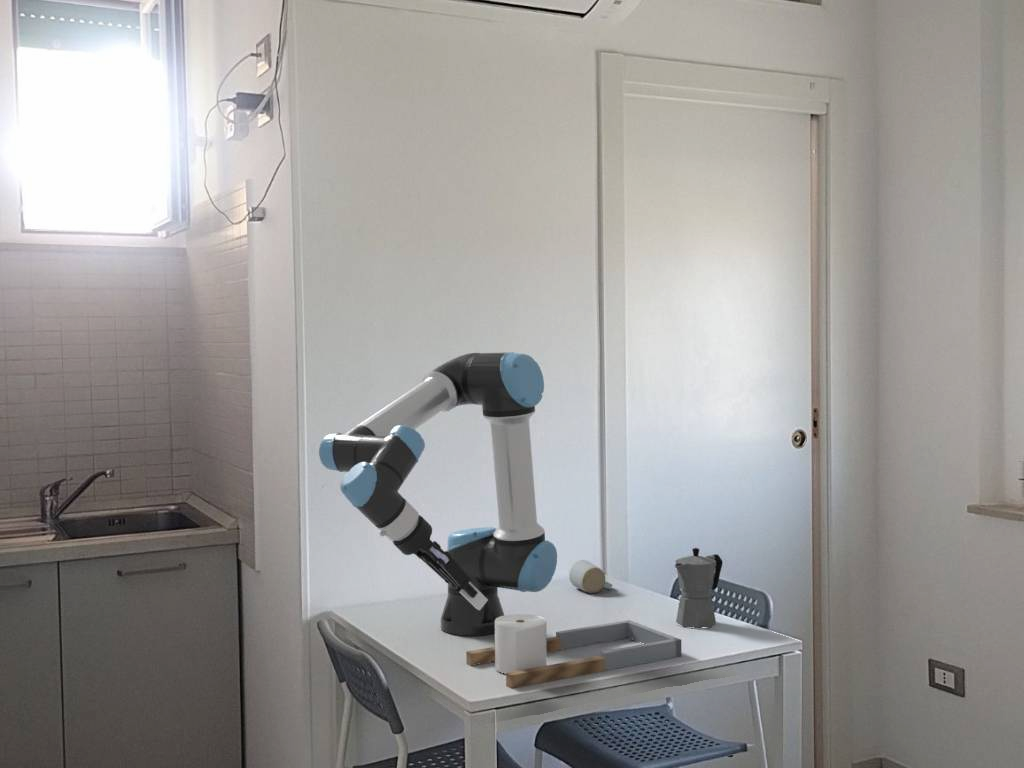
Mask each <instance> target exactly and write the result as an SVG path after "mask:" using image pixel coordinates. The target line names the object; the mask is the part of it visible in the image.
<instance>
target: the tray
mask: <svg viewBox="0 0 1024 768" xmlns="http://www.w3.org/2000/svg"><path fill="white" fill-rule="evenodd" d="M555 637H558V638H560V639H561V650H564V649H570V648H577V647H581V646H582V645H583V646H587V645H588V644H589V645H594V644H599V643H598V642H600V643H604V641H606V642H610V640H612V641H615V639H618V640H621V638H623V639H629V638H630V640H632V639H633V640H632V641H634V640H636V641H635V642H637V641H638V642H637V643H639V642H641V643H640V644H637V645H630V646H624V647H619V648H614V649H610V650H608V649H607V650H601V651H600V656H601V657H603V658H605V671H609V670H614V669H620V668H625V667H631V666H634V665H635V666H636V665H642V664H645V663H651V662H657V661H663V660H667V659H672V658H673V659H674V658H678V657H679V658H680V657H682V639H681V638H677V637H675V636H674V635H673V636H672V635H670V634H668V633H665V632H662V631H659V630H656V629H654V628H651V627H649V626H646V625H643V624H640V623H638V622H636V621H633V620H629V619H628V620H626V619H625V620H621V621H614V622H608V623H604V624H597V625H591V626H585V627H577V628H573V629H566V630H560V631H555ZM627 637H628V638H627ZM642 643H644V644H642ZM583 646H582V647H583Z"/></svg>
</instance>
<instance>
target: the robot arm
mask: <svg viewBox="0 0 1024 768" xmlns="http://www.w3.org/2000/svg"><path fill="white" fill-rule="evenodd" d="M544 390H545V382H544V375H543V372H542V370H541V367H540V366H539V363H538V362H537V361H536V360H535V359H534V358H533V357H532V356H530V355H528V354H527V353H525V354H524V353H515V352H470V353H465V354H462V355H460V356H456V357H454V358H452V359H450V360H448V361H446V362H444V363H442V364H441V365H439V366H437V367H435V368H433V369H432V370H431V371H429V372H428V373H426V374H425V375H424V376H423V378H422V379H421V383H419V384H418V385H415V386H414V387H413V388H412V389H410V390H409V391H407V392H406V393H404V394H403V395H401V396H400V397H398V398H396V399H395V400H393V401H392V402H391V403H389V404H387V405H386V406H385V407H383V408H381V409H380V410H379V411H376V413H374V414H373V415H371V416H370V417H368V418H367V419H365V420H363V421H362V422H360V423H359V424H357V425H356V426H354V427H353V428H351V429H349V430H348V431H346V432H344V433H341V432H336V433H329V434H327V435H326V436H324V437H323V439H322V440H321V441H320V445H319V448H318V456H319V459H320V463H321V464H322V466H323V467H325V469H328V470H329V471H330V470H332V471H336V472H337V471H338V472H340V473H343V472H344V473H345V475H344V476H343V478H342V479H341V482H340V487H339V488H340V491H341V493H342V494H343V495H344V496H345V498H346V499H347V500H348V501H349V502H350V503H351V505H352V506H353V507H354V508H356V509H357V510H358V511H359V512H360V513H361V514H363V516H364V517H365V518H367V520H369V522H371V524H373V525H374V527H376V528H377V530H380V532H379V536H380V537H384V536H385V537H386V538H387V539H388V540H389V541H391V542H392V544H393V545H394V546H395V547H396V548H397V549H398V550H399V551H400V552H401V553H402V554H403V555H404V556H405V555H406V556H409V555H415V556H416V557H417V558H418V559H420V560H421V561H422V562H423V563H425V564H426V565H427V566H428V567H429V568H430V569H432V571H433V572H435V573H436V574H437V575H438V576H439V577H440V578H441V579H442V580H443V581H444V582H445V583H446V584H447V597H446V600H445V604H444V605H443V606H444V608H443V611H442V613H441V617H440V629H441V631H443V632H446V633H449V634H451V635H456V636H457V635H459V636H483V635H484V636H485V635H490V634H495V619H496V618H498V617H500V616H505V615H506V614H505V613H504V609H503V606H502V604H501V601H500V600H501V599H500V597H499V594H498V593H499V592H498V590H499V589H498V588H501V589H508V590H514V591H518V592H522V593H526V592H527V593H528V592H530V593H539V592H541V591H543V590H544V589H545V588H546V587H547V586H548V585H549V584H550V583H551V581H552V579H553V576H554V575H555V572H556V569H557V564H558V552H557V548H556V546H555V545H554V544H553V543H552V542H551V541H549V540H546V534H545V528H544V527H543V526H541V525H540V524H539V522H538V517H537V506H536V505H537V504H536V494H535V493H536V492H535V490H536V489H535V480H534V479H535V478H534V469H533V468H534V467H533V466H534V465H533V456H532V455H533V454H532V441H531V430H530V429H531V428H530V427H531V426H530V418H531V417H532V416H533V415H534V414H535V412H536V406H537V405H538V404H539V403H540V402H541V401H542V398H543V393H544ZM464 405H477V406H478V405H480V406H481V407H482V408H481V409H482V416H483V417H484V419H486V420H487V421H488V422H489V423H490V431H491V441H492V442H491V443H492V455H493V469H494V477H495V478H494V480H495V491H496V493H495V494H496V502H497V514H498V527H497V528H496V527H491V526H489V527H488V526H487V527H486V526H484V527H473V528H469V529H468V528H467V529H461V530H457V531H453V532H452V533H450V534H449V535H448V538H447V546H446V547H447V549H446V550H445V551H444V550H443V549H442V547H441V545H440V544H439V543H438V542H437V541H435V540H433V541H432V540H431V536H432V534H433V527H432V526H431V524H429V522H428V521H427V520H426V519H425V518H424V517H423V516H422V515H421V514H419V512H418V511H417V510H416V509H415V508H414V507H413V506H412V504H410V503H409V502H408V500H406V498H404V497H403V496H402V495H401V493H399V490H400V488H401V487H402V486H403V484H404V482H405V481H406V480H407V477H408V476H409V474H410V473H411V472H412V471H413V469H414V467H415V466H416V464H418V462H419V459H420V458H421V456H422V454H423V452H424V450H425V445H426V444H425V443H426V442H425V440H424V438H423V437H422V435H421V433H420V432H419V431H417V430H416V429H417V428H420V427H421V426H422V425H423V424H425V423H426V422H428V421H429V420H430V419H432V418H434V417H435V416H436V415H437V414H439V413H440V412H443V413H445V412H450V411H451V410H453V409H454V408H456V407H459V406H464Z"/></svg>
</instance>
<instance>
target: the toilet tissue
mask: <svg viewBox="0 0 1024 768" xmlns="http://www.w3.org/2000/svg"><path fill="white" fill-rule="evenodd" d="M504 615H505V616H500V617H498V618H496V619H495V633H494V647H495V662H494V668H495V670H496V671H497V672H498V673H500V672H501V674H503V673H504V675H506V673H508V672H513V671H519V670H524V669H530V668H535V667H541V666H547V665H548V663H547V662H548V659H547V653H548V652H547V647H546V645H547V643H546V642H547V640H546V639H547V638H548V637H547V636H548V635H547V619H546V618H545V617H543V616H540V615H537V614H529V613H513V614H504Z"/></svg>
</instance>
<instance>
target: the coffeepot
mask: <svg viewBox="0 0 1024 768" xmlns="http://www.w3.org/2000/svg"><path fill="white" fill-rule="evenodd" d="M691 551H692V554H693V555H689V556H684V557H683V556H681V557H679V558H678V559H676V560H675V564H674V567H675V568H676V573H677V579H678V586H679V589H681V595H680V596H679V600H678V601H679V603H678V608H677V615H676V620H675V622H677V623H678V624H680V625H682V626H686V627H694V628H702V627H710V628H712V627H711V626H713V625H714V624H715V623H717V620H716V615H715V609H714V604H713V598H712V597H711V590H715V589H717V588H718V584H719V580H720V577H721V576H720V575H721V572H722V567H723V559H722V558H721V557H720V555H719V554H710V555H706V556H701V555H699V553H700V548H697V547H695V548H692V549H691ZM677 623H676V624H677ZM678 624H677V625H678ZM680 625H679V626H680ZM682 626H681V627H682ZM714 626H715V625H714ZM714 626H713V627H714ZM686 627H685V628H686Z"/></svg>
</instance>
